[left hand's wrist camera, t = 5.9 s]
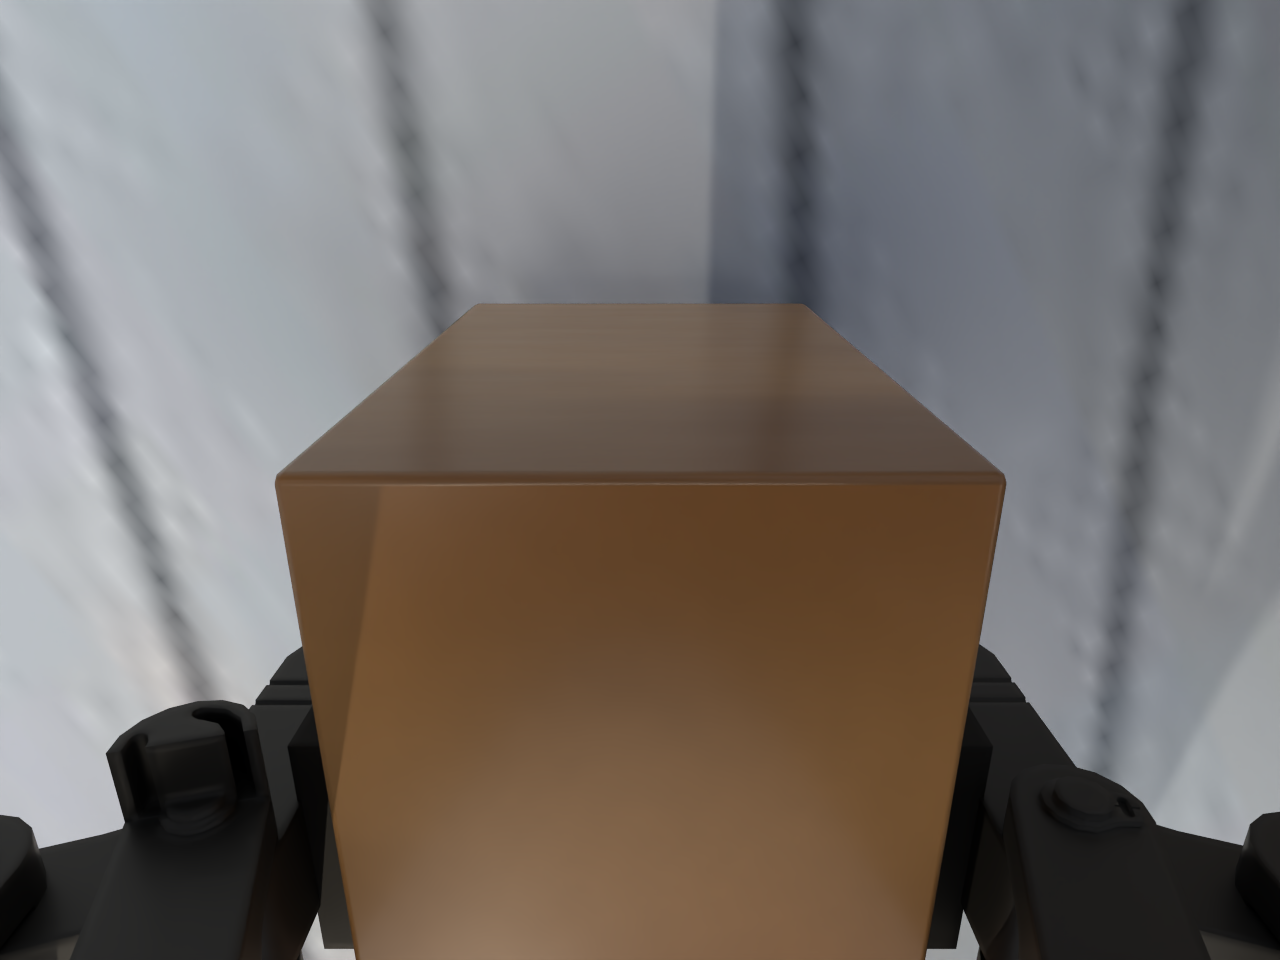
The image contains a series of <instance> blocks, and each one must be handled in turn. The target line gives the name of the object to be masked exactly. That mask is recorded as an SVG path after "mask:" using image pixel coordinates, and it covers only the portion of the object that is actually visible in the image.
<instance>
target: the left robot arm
mask: <svg viewBox="0 0 1280 960" xmlns="http://www.w3.org/2000/svg"><path fill="white" fill-rule="evenodd" d="M106 756H107V760H108V763H109V767H110V770H111V774H112V777H113V781H114V785H115V788H116V792H117V795H118V799H119V802H120V806H121V810H122V813H123V817H124V820H125V824H124V826H123V829H120V830H116V831H113V832H110V833H106V834H103V835H98V836H94V837H89V838H85V839H80V840H76V841H72V842H67V843H63V844H58V845H54V846H49V847H45V848H41V849H39V848H38V845H37V842H36V839H35V836H34V833H33V830H32V828H31V827H30V826H29V825H28V824H26V823H25V822H24V821H23V820H21V819H20V818H19V817H12V816H4V815H0V960H303V956H302V950H301V949H302V947H303V945H304V942H305V940H306V938H307V935H308V933H309V931H310V929H311V926H312V924H313V922H314V919H315V917H316V915H317V912H318V916H319V922H320V927H321V933H322V938H323V944H324V949H354V945H353V939H352V934H351V928H350V922H349V916H348V910H347V904H346V898H345V893H344V887H343V881H342V875H341V869H340V863H339V857H338V852H337V846H336V840H335V834H334V828H333V822H332V816H331V811H330V805H329V799H328V793H327V787H326V781H325V775H324V770H323V764H322V758H321V752H320V746H319V740H318V734H317V729H316V723H315V717H314V711H313V705H312V699H311V693H310V688H309V682H308V676H307V670H306V664H305V658H304V652H303V647H301V648H299V649H298V650H296V651H295V652H293V653H292V654H290V655H289V656H288V657H287V658H286V659H285V660H284V662H283V663H282V664H281V666H280V667H279V669H278V670H277V671H276V673H275V674H274V676H273V677H272V678H271V680H270V685H266V687H265V688H264V689H263V691H262V692H261V693H260V695H259V696H258V698H257V699H256V704H255V705H252V706H251V707H250V709H247V708H246V707H245V706H244V705H242V704H237V703H233V702H229V701H224V700H216V701H197V702H193V703H189V704H185V705H181V706H177V707H172V708H169V709H166V710H164V711H162V712H160V713H157V714H155V715H153V716H151V717H148V718H146V719H144V720H142V721H140V722H139V723H137V724H136V725H135V726H133V727H132V728H130V729H129V730H128V731H126V732H125V733H123V734H122V735H120V736H119V738H118V739H117V740H116V741H115V743H114V744H113V745H112V746H111V748H110V749H109V750H108V751H107V753H106ZM963 909H964V912H965V914H966V916H967V919H968V921H969V923H970V925H971V928H972V930H973V932H974V935H975V937H976V939H977V942H978V944H979V950H978V956H977V960H1280V812H1275V813H1267V814H1262V815H1261V816H1260V817H1259V818H1257V819H1256V820H1255V821H1254V822H1252V823H1251V824H1250V826H1249V830H1248V833H1247V836H1246V839H1245V842H1244V845H1243V846H1242V845H1238V844H1233V843H1229V842H1224V841H1220V840H1215V839H1211V838H1206V837H1202V836H1198V835H1193V834H1189V833H1184V832H1180V831H1176V830H1172V829H1169V828H1166V827H1162V826H1159V825H1156V822H1155V820H1154V819H1153V818H1152V816H1151V815H1150V813H1149V812H1148V810H1147V809H1146V807H1145V806H1144V804H1143V803H1142V802H1141V801H1140V800H1138V799H1137V798H1136V797H1135V796H1134V795H1132V794H1131V793H1130V792H1129V791H1127V790H1126V789H1125V788H1124V787H1122V786H1121V785H1119V784H1117V783H1115V782H1113V781H1111V780H1109V779H1107V778H1105V777H1103V776H1101V775H1099V774H1097V773H1095V772H1091V771H1088V770H1084V769H1080V768H1077V767H1076V766H1075V765H1074V763H1073V762H1072V761H1071V759H1070V758H1069V756H1068V755H1067V754H1066V752H1065V751H1064V750H1063V748H1062V747H1061V745H1060V744H1059V743H1058V741H1057V740H1056V739H1055V737H1054V736H1053V735H1052V733H1051V732H1050V730H1049V729H1048V728H1047V726H1046V725H1045V724H1044V722H1043V721H1042V719H1041V718H1040V717H1039V715H1038V714H1037V713H1036V711H1035V710H1034V708H1033V707H1032V706H1031V704H1030V703H1029V702H1026V700H1025V696H1024V695H1023V693H1022V692H1021V691H1020V689H1019V688H1018V687H1017V685H1016V684H1015V683H1012V682H1011V677H1010V676H1009V674H1008V673H1007V671H1006V670H1005V669H1004V667H1003V666H1002V665H1001V663H1000V662H999V661H998V659H997V658H996V656H995V655H994V654H993V653H991V652H990V651H988V650H987V649H986V648H984V647H983V646H981V645H980V644H979V647H978V653H977V658H976V664H975V670H974V676H973V682H972V688H971V694H970V699H969V705H968V711H967V717H966V723H965V729H964V734H963V740H962V746H961V752H960V758H959V764H958V770H957V775H956V781H955V787H954V793H953V799H952V805H951V811H950V816H949V822H948V828H947V834H946V840H945V846H944V851H943V857H942V863H941V869H940V875H939V881H938V887H937V892H936V898H935V904H934V910H933V916H932V922H931V927H930V933H929V939H928V945H927V949H956V946H957V941H958V936H959V930H960V925H961V919H962V914H963Z"/></svg>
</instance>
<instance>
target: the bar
mask: <svg viewBox="0 0 1280 960" xmlns="http://www.w3.org/2000/svg"><path fill="white" fill-rule="evenodd" d="M275 488H276V494H277V500H278V506H279V512H280V518H281V524H282V529H283V535H284V541H285V547H286V553H287V559H288V565H289V570H290V576H291V582H292V588H293V594H294V600H295V606H296V611H297V617H298V623H299V629H300V635H301V641H302V647H303V652H304V658H305V664H306V670H307V676H308V682H309V688H310V693H311V699H312V705H313V711H314V717H315V723H316V729H317V734H318V740H319V746H320V752H321V758H322V764H323V770H324V775H325V781H326V787H327V793H328V799H329V805H330V811H331V816H332V822H333V828H334V834H335V840H336V846H337V852H338V857H339V863H340V869H341V875H342V881H343V887H344V893H345V898H346V904H347V910H348V916H349V922H350V928H351V934H352V939H353V945H354V951H355V957H356V960H925V957H926V951H927V945H928V939H929V933H930V927H931V922H932V916H933V910H934V904H935V898H936V892H937V887H938V881H939V875H940V869H941V863H942V857H943V851H944V846H945V840H946V834H947V828H948V822H949V816H950V811H951V805H952V799H953V793H954V787H955V781H956V775H957V770H958V764H959V758H960V752H961V746H962V740H963V734H964V729H965V723H966V717H967V711H968V705H969V699H970V694H971V688H972V682H973V676H974V670H975V664H976V658H977V653H978V647H979V641H980V635H981V629H982V623H983V618H984V612H985V606H986V600H987V594H988V588H989V582H990V577H991V571H992V565H993V559H994V553H995V547H996V542H997V536H998V530H999V524H1000V518H1001V512H1002V506H1003V501H1004V495H1005V489H1006V480H1005V476H1004V474H1003V473H1002V472H1001V471H1000V470H999V469H997V468H996V467H995V466H994V465H993V464H991V463H990V462H989V461H988V460H987V459H986V458H984V457H983V456H982V455H981V454H980V453H979V452H977V451H976V450H975V449H974V448H973V447H971V446H970V445H969V444H968V443H967V442H966V441H964V440H963V439H962V438H961V437H960V436H959V435H957V434H956V433H955V432H954V431H953V430H952V429H950V428H949V427H948V426H947V425H946V424H944V423H943V422H942V421H941V420H940V419H939V418H937V417H936V416H935V415H934V414H933V413H932V412H930V411H929V410H928V409H927V408H926V407H924V406H923V405H922V404H921V403H920V402H919V401H917V400H916V399H915V398H914V397H913V396H912V395H910V394H909V393H908V392H907V391H906V390H904V389H903V388H902V387H901V386H900V385H899V384H897V383H896V382H895V381H894V380H893V379H892V378H890V377H889V376H888V375H887V374H886V373H884V372H883V371H882V370H881V369H880V368H879V367H877V366H876V365H875V364H874V363H873V362H872V361H870V360H869V359H868V358H867V357H866V356H864V355H863V354H862V353H861V352H860V351H859V350H857V349H856V348H855V347H854V346H853V345H852V344H850V343H849V342H848V341H847V340H846V339H844V338H843V337H842V336H841V335H840V334H839V333H837V332H836V331H835V330H834V329H833V328H832V327H830V326H829V325H828V324H827V323H826V322H824V321H823V320H822V319H821V318H820V317H819V316H817V315H816V314H815V313H814V312H813V311H812V310H810V309H809V308H808V307H807V306H806V305H804V304H477V305H475V306H473V307H472V308H471V309H470V310H469V311H467V312H466V313H465V314H464V315H463V316H462V317H460V318H459V319H458V320H457V321H456V322H455V323H453V324H452V325H451V326H450V327H449V328H448V329H446V330H445V331H444V332H443V333H442V334H441V335H439V336H438V337H437V338H436V339H435V340H434V341H432V342H431V343H430V344H429V345H428V346H427V347H425V348H424V349H423V350H422V351H421V352H420V353H418V354H417V355H416V356H415V357H414V358H413V359H411V360H410V361H409V362H408V363H407V364H406V365H404V366H403V367H402V368H401V369H400V370H399V371H397V372H396V373H395V374H394V375H393V376H391V377H390V378H389V379H388V380H387V381H386V382H384V383H383V384H382V385H381V386H380V387H379V388H377V389H376V390H375V391H374V392H373V393H372V394H370V395H369V396H368V397H367V398H366V399H365V400H363V401H362V402H361V403H360V404H359V405H358V406H356V407H355V408H354V409H353V410H352V411H351V412H349V413H348V414H347V415H346V416H345V417H344V418H342V419H341V420H340V421H339V422H338V423H337V424H335V425H334V426H333V427H332V428H331V429H330V430H328V431H327V432H326V433H325V434H324V435H322V436H321V437H320V438H319V439H318V440H317V441H315V442H314V443H313V444H312V445H311V446H310V447H308V448H307V449H306V450H305V451H304V452H303V453H301V454H300V455H299V456H298V457H297V458H296V459H294V460H293V461H292V462H291V463H290V464H289V465H287V466H286V467H285V468H284V469H283V470H282V471H280V472H279V473H278V474H277V476H276V480H275Z"/></svg>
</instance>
